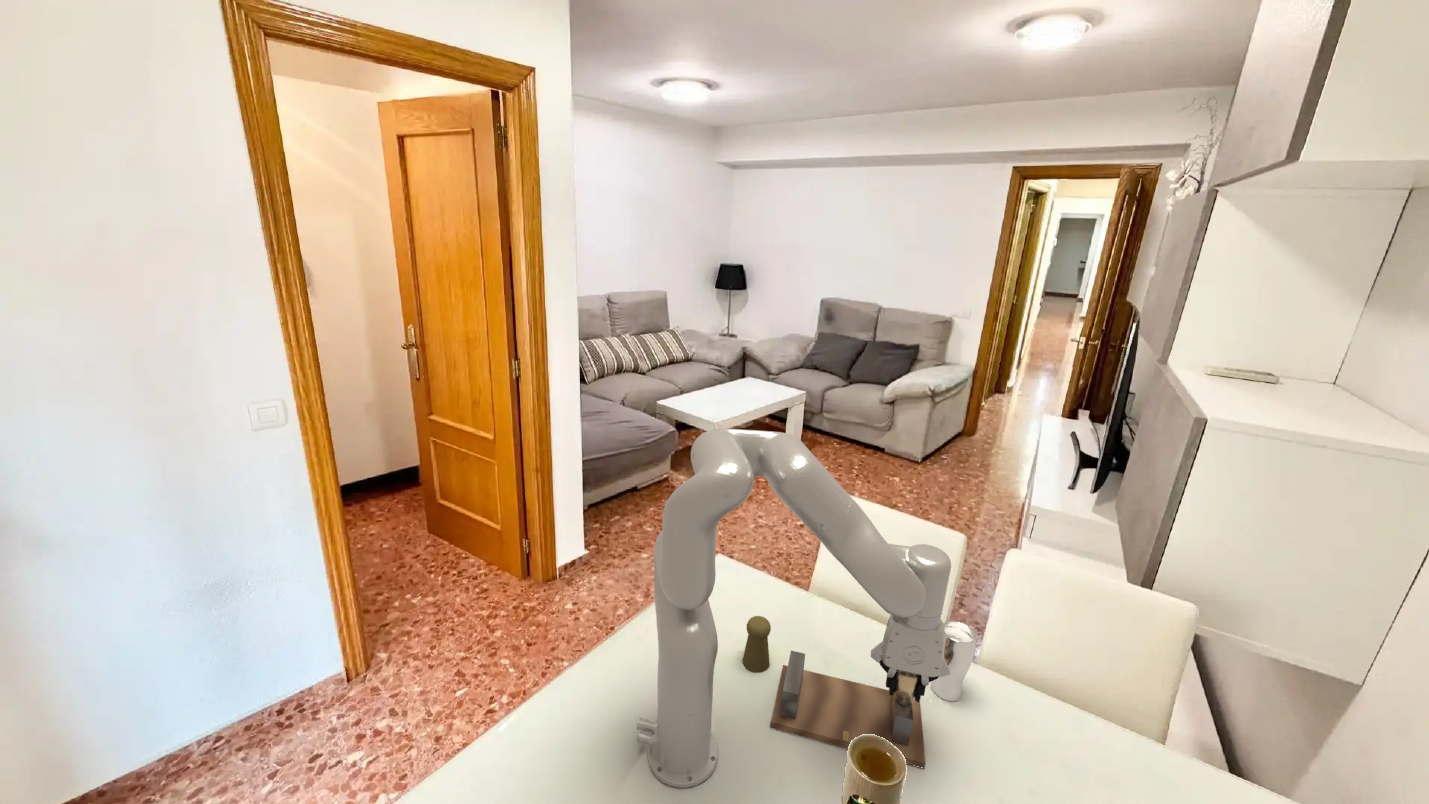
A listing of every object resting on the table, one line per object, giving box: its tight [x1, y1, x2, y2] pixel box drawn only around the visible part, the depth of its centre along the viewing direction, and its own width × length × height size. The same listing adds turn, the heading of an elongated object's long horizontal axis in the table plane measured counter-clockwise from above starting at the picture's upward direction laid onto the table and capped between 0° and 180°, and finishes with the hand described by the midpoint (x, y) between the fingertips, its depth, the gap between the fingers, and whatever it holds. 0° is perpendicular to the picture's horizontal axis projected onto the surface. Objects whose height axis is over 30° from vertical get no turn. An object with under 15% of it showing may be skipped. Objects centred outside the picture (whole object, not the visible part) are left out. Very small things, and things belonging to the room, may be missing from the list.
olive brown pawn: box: [741, 615, 772, 674], centre depth 120 cm, size 6×6×11 cm
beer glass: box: [930, 620, 978, 703], centre depth 114 cm, size 7×7×15 cm
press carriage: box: [890, 669, 919, 745], centre depth 104 cm, size 4×10×12 cm, turn 164°
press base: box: [769, 650, 926, 769], centre depth 108 cm, size 28×15×8 cm, turn 74°
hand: (904, 692), depth 104 cm, fingers closed on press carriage, 4 cm apart
